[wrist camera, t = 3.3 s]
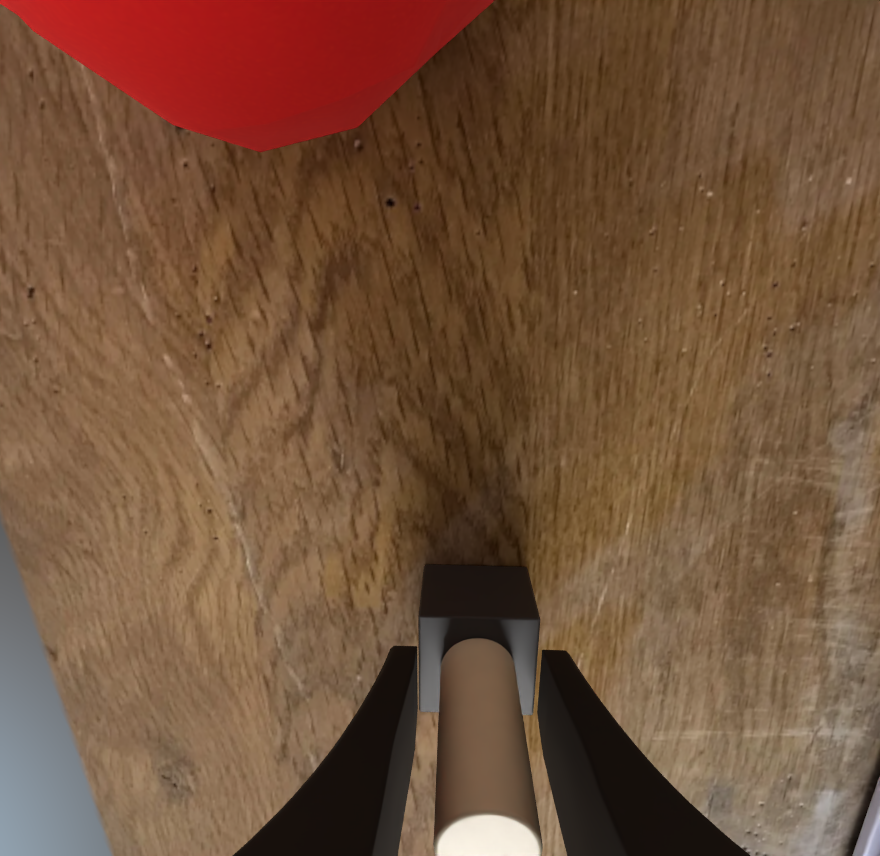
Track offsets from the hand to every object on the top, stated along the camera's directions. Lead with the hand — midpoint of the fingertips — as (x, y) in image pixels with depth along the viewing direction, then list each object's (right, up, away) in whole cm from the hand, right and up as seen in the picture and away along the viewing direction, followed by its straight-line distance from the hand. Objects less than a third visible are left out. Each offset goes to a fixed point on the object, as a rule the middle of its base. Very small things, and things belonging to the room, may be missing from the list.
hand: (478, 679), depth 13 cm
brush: (0, +1, +3) cm, 3 cm away
